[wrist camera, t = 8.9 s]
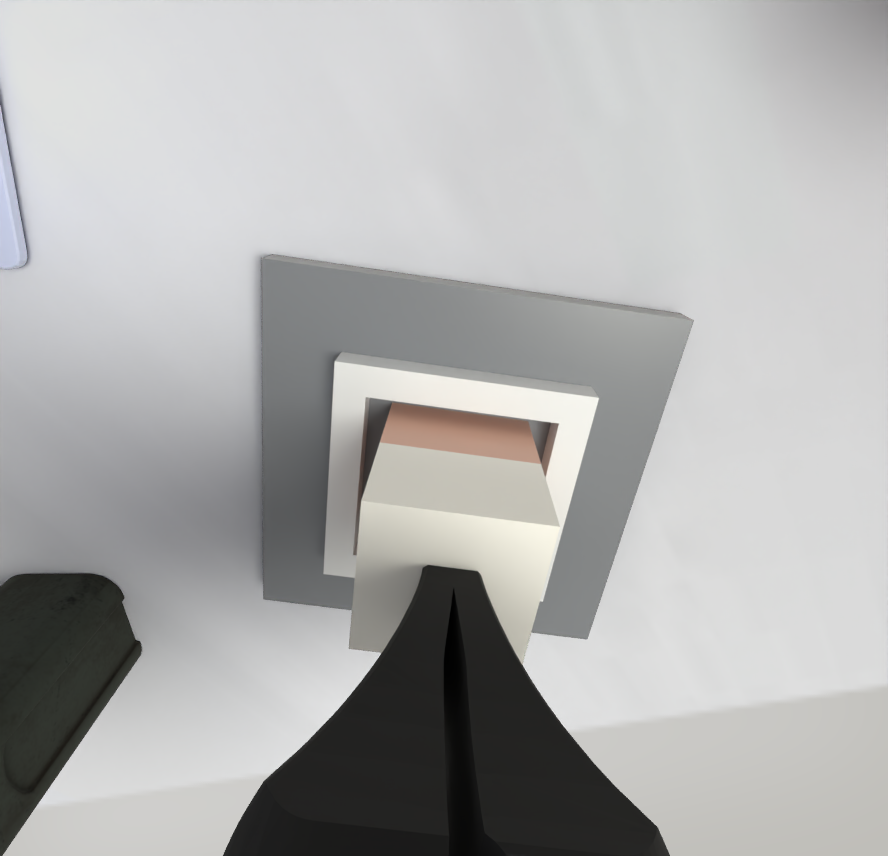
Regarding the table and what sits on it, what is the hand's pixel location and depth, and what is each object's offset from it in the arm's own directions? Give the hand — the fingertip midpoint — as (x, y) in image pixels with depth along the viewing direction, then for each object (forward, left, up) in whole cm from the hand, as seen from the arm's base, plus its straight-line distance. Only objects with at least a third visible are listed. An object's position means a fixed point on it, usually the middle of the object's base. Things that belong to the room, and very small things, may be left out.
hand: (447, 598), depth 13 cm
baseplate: (0, 0, -7) cm, 7 cm away
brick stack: (0, 0, -6) cm, 6 cm away
